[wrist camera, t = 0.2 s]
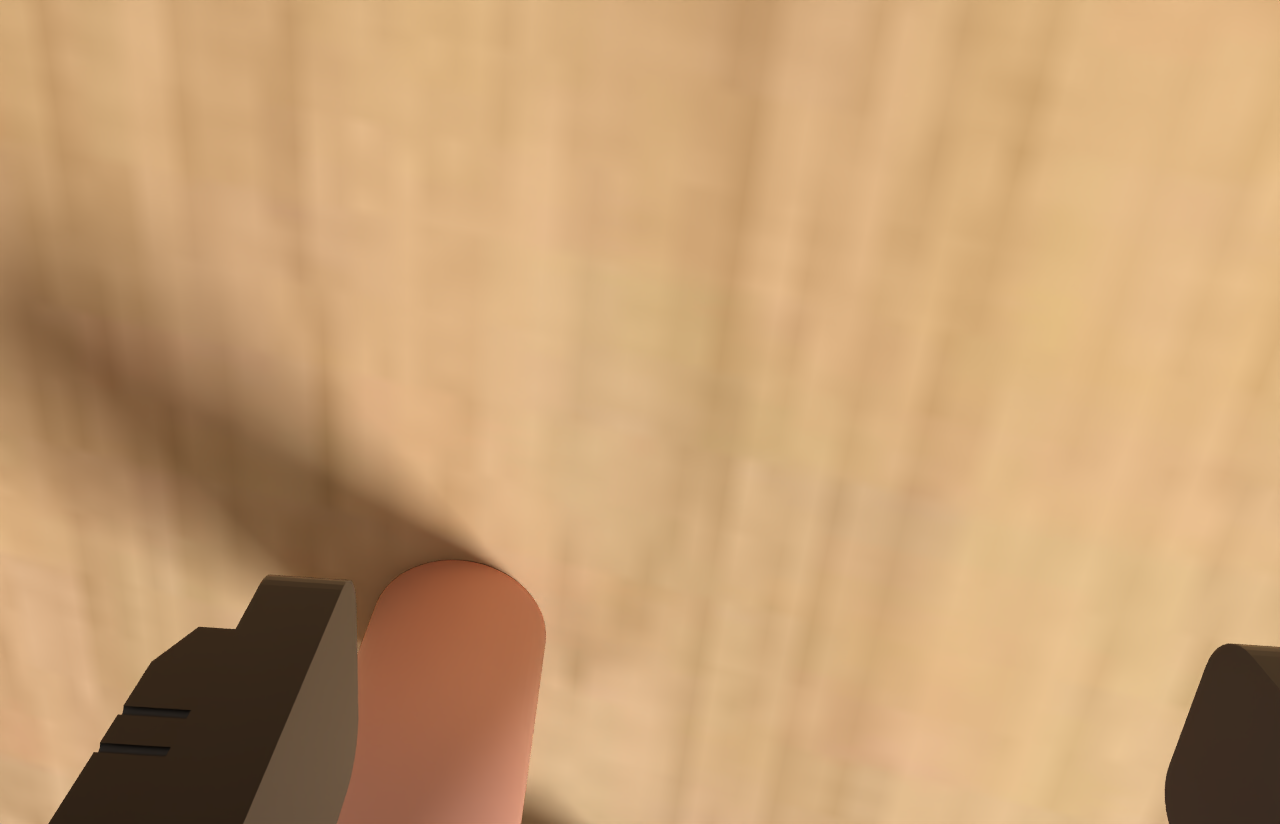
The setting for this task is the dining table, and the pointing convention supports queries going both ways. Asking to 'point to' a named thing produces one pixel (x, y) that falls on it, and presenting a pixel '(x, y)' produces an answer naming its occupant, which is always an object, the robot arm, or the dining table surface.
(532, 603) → the salmon pink cylinder
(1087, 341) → the dining table surface
